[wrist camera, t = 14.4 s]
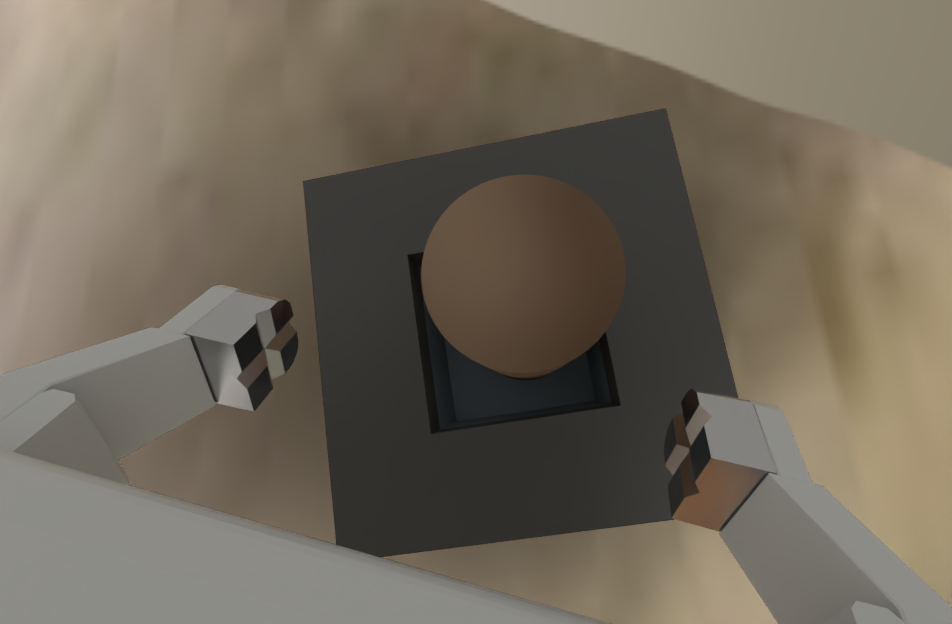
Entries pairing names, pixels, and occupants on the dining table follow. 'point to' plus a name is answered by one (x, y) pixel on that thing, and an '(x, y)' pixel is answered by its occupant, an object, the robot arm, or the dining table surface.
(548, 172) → the socket block
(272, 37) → the dining table surface
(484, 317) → the walnut peg
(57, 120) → the dining table surface
